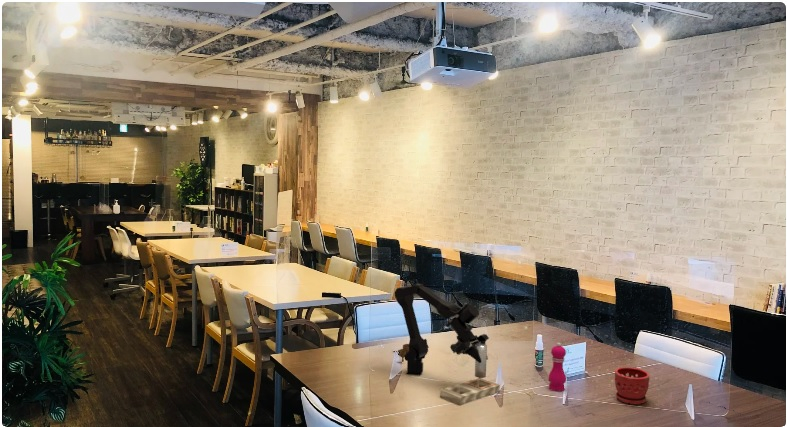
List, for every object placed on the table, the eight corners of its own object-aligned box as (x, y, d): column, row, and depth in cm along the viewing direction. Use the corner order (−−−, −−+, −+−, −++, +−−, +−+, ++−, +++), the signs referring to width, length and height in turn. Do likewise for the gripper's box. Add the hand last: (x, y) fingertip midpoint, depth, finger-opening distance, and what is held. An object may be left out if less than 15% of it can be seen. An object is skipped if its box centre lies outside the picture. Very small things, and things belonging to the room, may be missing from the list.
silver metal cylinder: (476, 377, 259) (477, 347, 258) (473, 374, 264) (474, 343, 263) (487, 377, 260) (488, 346, 259) (484, 374, 264) (485, 343, 263)
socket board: (460, 405, 247) (460, 396, 246) (440, 396, 255) (440, 388, 255) (499, 391, 262) (499, 384, 262) (479, 384, 271) (479, 377, 270)
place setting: (431, 357, 310) (431, 345, 310) (403, 365, 296) (404, 353, 295) (404, 349, 322) (405, 337, 322) (377, 357, 308) (377, 345, 307)
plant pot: (609, 394, 263) (610, 366, 262) (641, 395, 263) (642, 367, 262) (619, 406, 250) (621, 376, 249) (653, 407, 250) (654, 377, 249)
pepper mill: (566, 387, 270) (568, 341, 269) (564, 392, 264) (567, 345, 262) (548, 384, 273) (551, 339, 271) (547, 390, 266) (549, 343, 264)
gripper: (462, 336, 278) (482, 366, 272) (438, 344, 263) (459, 376, 257) (478, 321, 272) (499, 352, 266) (454, 329, 258) (476, 362, 252)
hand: (483, 361), depth 261 cm, fingers closed on silver metal cylinder, 5 cm apart
